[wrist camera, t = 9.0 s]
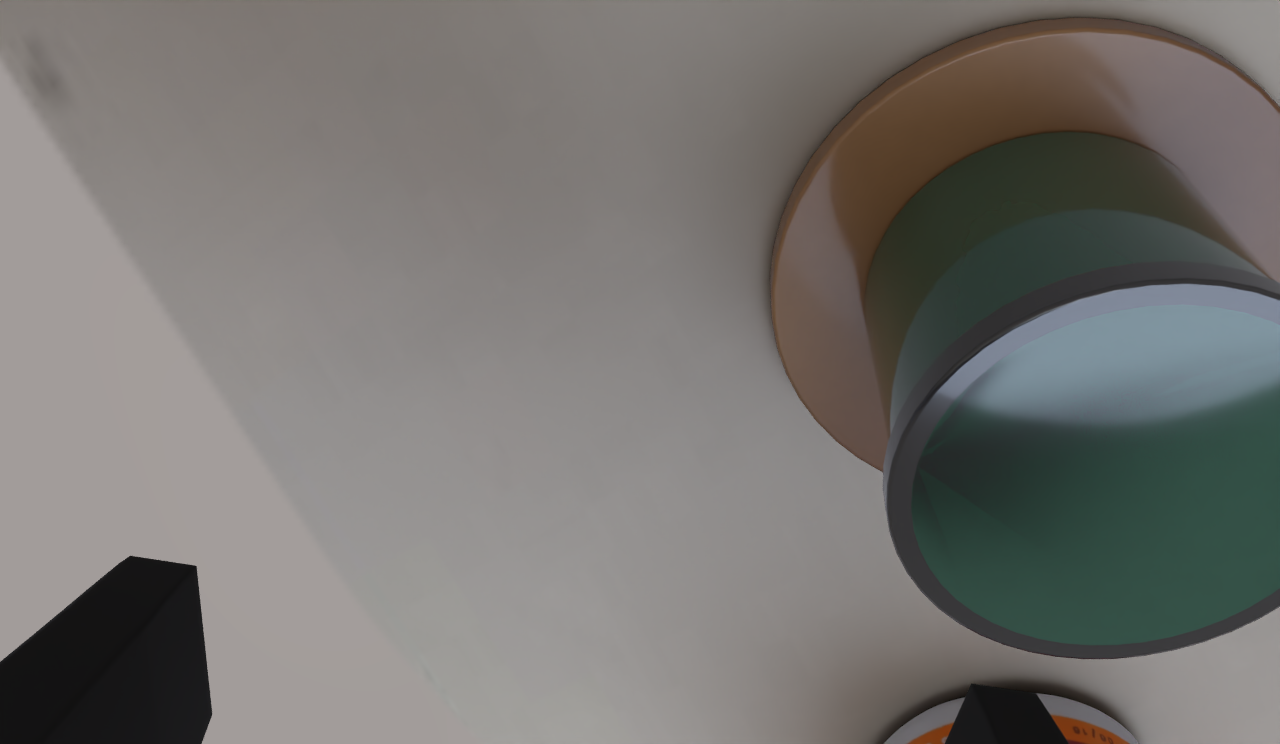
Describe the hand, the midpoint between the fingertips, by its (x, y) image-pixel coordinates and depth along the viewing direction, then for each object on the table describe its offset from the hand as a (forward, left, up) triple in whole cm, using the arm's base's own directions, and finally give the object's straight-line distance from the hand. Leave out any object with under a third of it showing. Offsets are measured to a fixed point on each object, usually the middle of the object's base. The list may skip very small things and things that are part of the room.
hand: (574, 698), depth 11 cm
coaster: (+6, +2, -9) cm, 11 cm away
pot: (+6, +2, -9) cm, 11 cm away
